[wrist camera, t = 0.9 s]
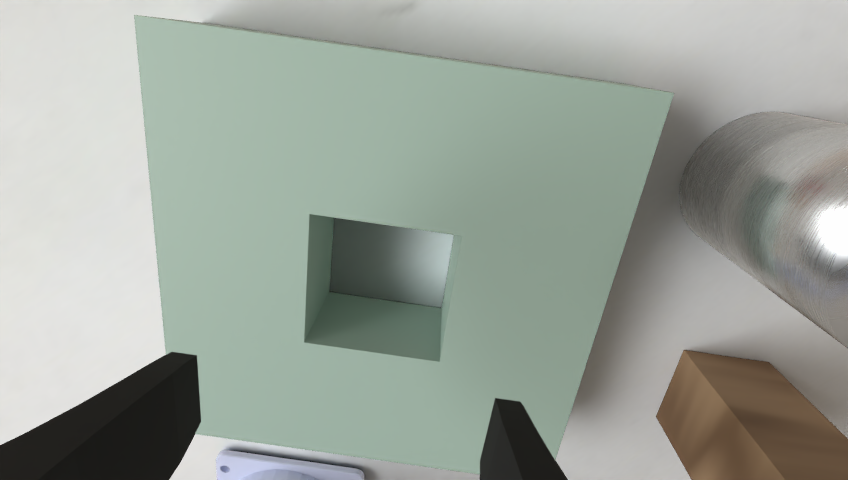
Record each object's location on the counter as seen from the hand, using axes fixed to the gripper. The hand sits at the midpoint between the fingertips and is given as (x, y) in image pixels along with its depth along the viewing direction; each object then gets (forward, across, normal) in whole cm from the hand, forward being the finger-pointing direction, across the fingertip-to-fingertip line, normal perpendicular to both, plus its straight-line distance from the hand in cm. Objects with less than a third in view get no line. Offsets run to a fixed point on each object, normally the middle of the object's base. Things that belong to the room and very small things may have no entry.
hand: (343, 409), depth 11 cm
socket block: (+10, 0, 0) cm, 10 cm away
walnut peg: (+10, -16, +5) cm, 19 cm away
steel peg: (+10, -14, -5) cm, 18 cm away
